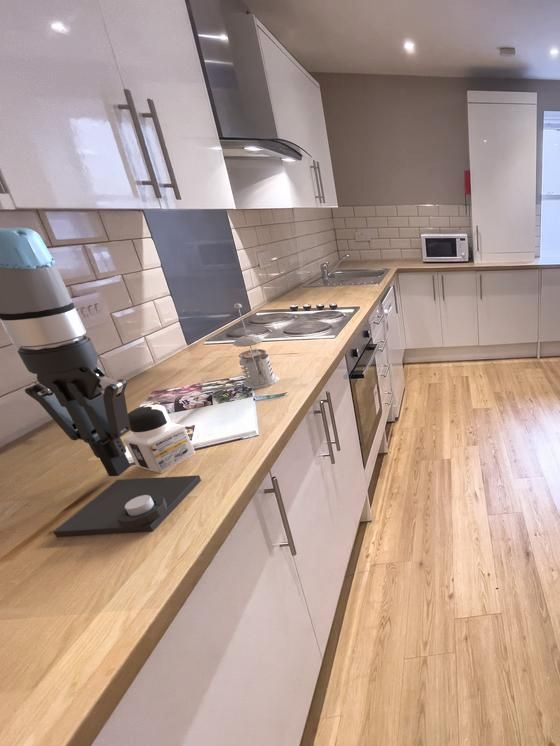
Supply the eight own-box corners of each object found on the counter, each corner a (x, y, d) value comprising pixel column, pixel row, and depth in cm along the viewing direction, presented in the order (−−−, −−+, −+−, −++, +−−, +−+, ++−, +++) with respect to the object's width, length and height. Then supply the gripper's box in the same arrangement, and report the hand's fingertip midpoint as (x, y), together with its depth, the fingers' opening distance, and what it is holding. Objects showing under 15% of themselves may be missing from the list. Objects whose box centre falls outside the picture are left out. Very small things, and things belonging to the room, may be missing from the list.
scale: (55, 538, 71) (46, 525, 69) (120, 485, 84) (113, 473, 82) (153, 532, 72) (146, 519, 70) (202, 480, 85) (197, 468, 83)
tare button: (123, 517, 72) (119, 509, 71) (138, 503, 75) (134, 495, 74) (145, 515, 72) (141, 508, 71) (159, 501, 75) (155, 494, 74)
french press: (274, 373, 134) (252, 297, 123) (283, 384, 126) (261, 304, 115) (240, 381, 128) (214, 303, 117) (247, 394, 120) (220, 311, 109)
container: (160, 474, 87) (135, 421, 81) (136, 467, 89) (110, 415, 83) (196, 453, 93) (175, 403, 88) (173, 448, 95) (151, 398, 90)
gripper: (120, 332, 63) (174, 456, 74) (30, 333, 63) (98, 459, 73) (78, 349, 57) (144, 483, 67) (-24, 351, 56) (59, 487, 66)
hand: (120, 471), depth 70 cm, fingers closed
